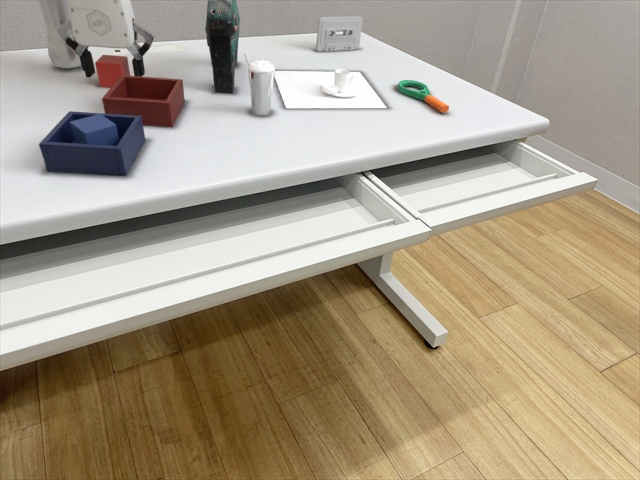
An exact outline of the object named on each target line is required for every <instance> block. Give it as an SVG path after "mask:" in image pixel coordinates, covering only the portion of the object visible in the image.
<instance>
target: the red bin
mask: <svg viewBox="0 0 640 480" xmlns="http://www.w3.org/2000/svg"><path fill="white" fill-rule="evenodd" d="M101 102H102V106H103V111H104V114H119V115H135V116H142V121H143V126H151V127H164V128H165V127H166V128H173V127H174V125H175V123H176V120H177V119H178V117H179V115H180V113H181V110H182V109H183V107H184V104H185V103H186V102H185V90H184V81H183V79H182V78H181V79H180V78H168V77H153V76H143V77H141V76H134V75H130V76H127V75H121V76H120V78H119V79H118V80H117V81H116V82H115V83H114V85H113V86H112V87H109V89H108V91H107V92H106V93H105V94H104V95H103V96H102V97H101Z"/></svg>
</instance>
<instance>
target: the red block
mask: <svg viewBox="0 0 640 480" xmlns="http://www.w3.org/2000/svg"><path fill="white" fill-rule="evenodd" d="M94 66H95V68H96V69H95V70H96V74H97V78H98V83H99V87H102V88H111V87H112V86H113V85H114V83H115V82H116V81H117V80H118V79H119V78H120V76H121V75H127V76H131V70H130V66H129V59H128V56H127V55H125V56H124V55H115V54H114V55H112V54H102V55H101V56H100V57H99V58H98V59H97V60H96V61H94Z"/></svg>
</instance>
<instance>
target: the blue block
mask: <svg viewBox="0 0 640 480" xmlns="http://www.w3.org/2000/svg"><path fill="white" fill-rule="evenodd" d="M70 125H71V129H72V133H73V137H74V140H75V143H76V144H93V145H110V146H117V145H118V143H119V137H118V132H117V127H116V124H114V123H113V122H111V121H110V120H109V119H107V118H106V117H104V116H103V115H101V114H98V115H94V116H90V117H86V118H82V119H78V120H74V121H70Z"/></svg>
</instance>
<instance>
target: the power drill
mask: <svg viewBox="0 0 640 480" xmlns="http://www.w3.org/2000/svg"><path fill="white" fill-rule="evenodd" d="M205 20H206V21H205V28H204V29H205V33H206V46H207V47H208V50H209V57H210V62H211V68H212V77H213V78H212V81H213V88H214V91H215V93H220V94H222V93H223V94H233V93H234V90H235V75H236V67H237V66H238V56H239V55H238V53H239V39H240V22H241V16H240V11H239V8H238V3H237V0H207V6H206V19H205Z"/></svg>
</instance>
